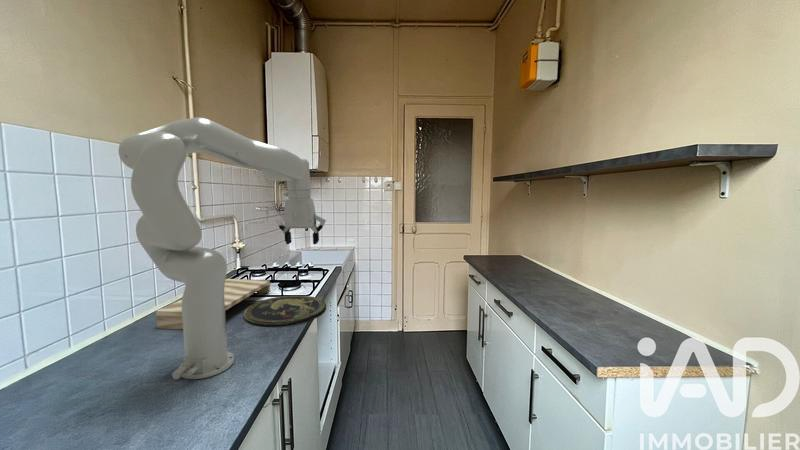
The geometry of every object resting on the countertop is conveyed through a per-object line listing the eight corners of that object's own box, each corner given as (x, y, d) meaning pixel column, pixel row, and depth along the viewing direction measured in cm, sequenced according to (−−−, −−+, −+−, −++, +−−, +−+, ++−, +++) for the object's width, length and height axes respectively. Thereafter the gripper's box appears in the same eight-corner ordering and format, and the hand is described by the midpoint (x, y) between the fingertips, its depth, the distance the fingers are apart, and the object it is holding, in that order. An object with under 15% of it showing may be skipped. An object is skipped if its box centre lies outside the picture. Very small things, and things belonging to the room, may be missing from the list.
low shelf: (214, 330, 107) (213, 313, 106) (157, 328, 109) (156, 310, 108) (270, 293, 146) (269, 280, 145) (227, 291, 147) (227, 278, 147)
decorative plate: (309, 325, 109) (225, 320, 112) (309, 330, 109) (225, 325, 112) (335, 296, 138) (268, 293, 141) (335, 300, 139) (268, 297, 141)
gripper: (270, 196, 109) (273, 245, 112) (320, 195, 108) (323, 245, 111) (279, 194, 117) (282, 241, 119) (327, 194, 116) (329, 241, 118)
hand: (302, 243), depth 115 cm, fingers open, 9 cm apart
